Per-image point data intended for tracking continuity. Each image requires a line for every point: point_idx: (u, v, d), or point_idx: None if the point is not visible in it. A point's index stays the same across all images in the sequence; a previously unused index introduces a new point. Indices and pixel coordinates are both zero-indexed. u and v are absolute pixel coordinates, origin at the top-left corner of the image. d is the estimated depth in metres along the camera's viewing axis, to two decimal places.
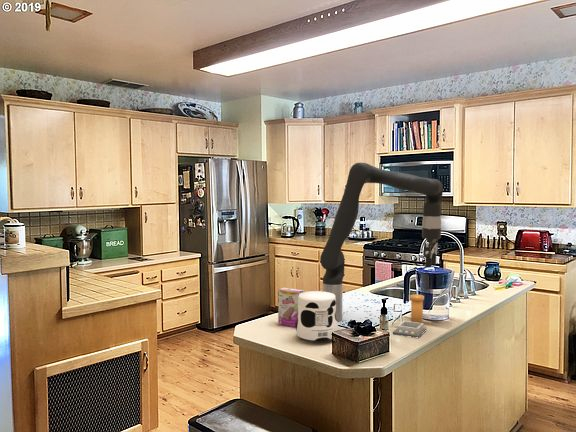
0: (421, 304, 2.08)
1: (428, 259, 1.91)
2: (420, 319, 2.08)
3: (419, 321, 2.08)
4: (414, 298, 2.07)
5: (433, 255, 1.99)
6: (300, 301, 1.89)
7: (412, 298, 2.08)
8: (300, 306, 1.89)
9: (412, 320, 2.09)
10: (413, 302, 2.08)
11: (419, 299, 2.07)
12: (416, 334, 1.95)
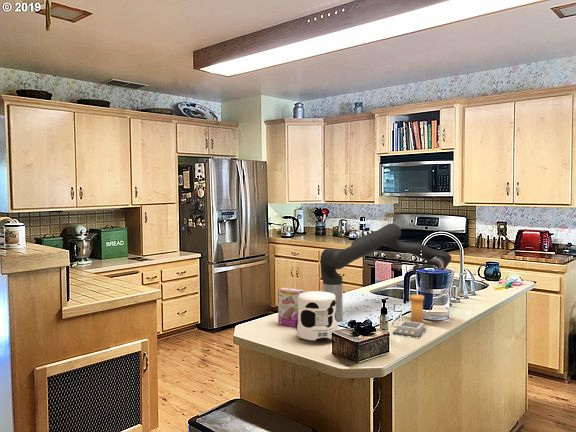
0: (421, 304, 2.08)
1: None
2: (420, 319, 2.08)
3: (419, 321, 2.08)
4: (414, 298, 2.07)
5: None
6: (300, 301, 1.89)
7: (412, 298, 2.08)
8: (300, 306, 1.89)
9: (412, 320, 2.09)
10: (413, 302, 2.08)
11: (419, 299, 2.07)
12: (416, 334, 1.95)
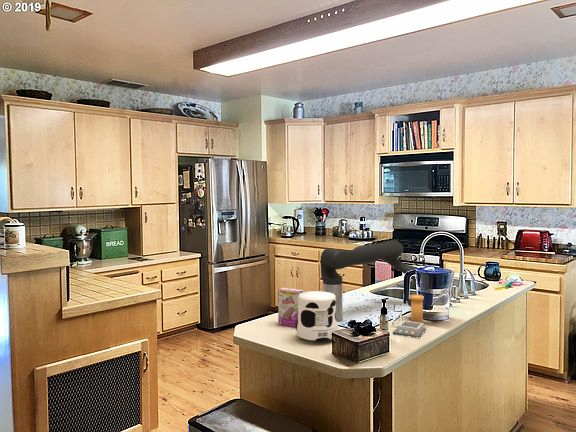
0: (421, 304, 2.08)
1: None
2: (420, 319, 2.08)
3: (419, 321, 2.08)
4: (414, 298, 2.07)
5: None
6: (300, 301, 1.89)
7: (412, 298, 2.08)
8: (300, 306, 1.89)
9: (412, 320, 2.09)
10: (413, 302, 2.08)
11: (419, 299, 2.07)
12: (416, 334, 1.95)
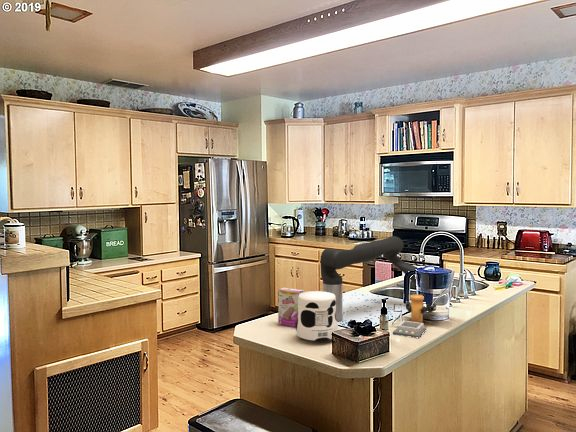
0: (421, 304, 2.08)
1: (425, 310, 2.09)
2: (420, 319, 2.08)
3: (419, 321, 2.08)
4: (414, 298, 2.07)
5: None
6: (300, 301, 1.89)
7: (412, 298, 2.08)
8: (300, 306, 1.89)
9: (412, 320, 2.09)
10: (413, 302, 2.08)
11: (419, 299, 2.07)
12: (416, 334, 1.95)
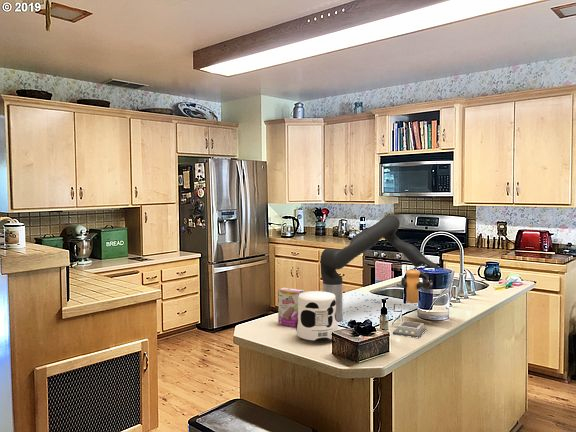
0: (417, 279, 2.01)
1: (421, 285, 2.02)
2: (416, 295, 2.01)
3: (415, 297, 2.01)
4: (410, 273, 2.00)
5: None
6: (300, 301, 1.89)
7: (407, 273, 2.01)
8: (300, 306, 1.89)
9: (407, 296, 2.02)
10: (409, 277, 2.01)
11: (415, 274, 2.00)
12: (416, 334, 1.95)
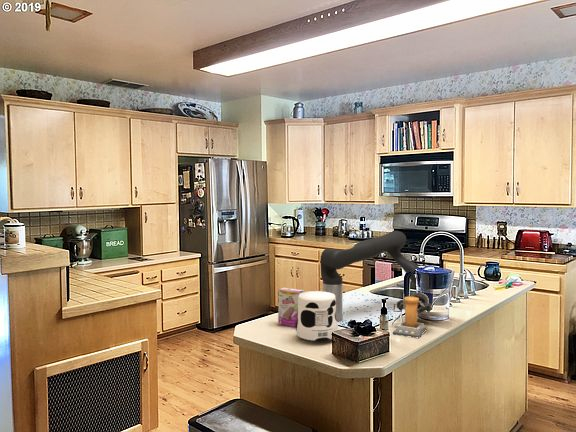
0: (416, 306, 2.00)
1: (424, 309, 2.00)
2: (414, 322, 2.00)
3: (413, 324, 2.00)
4: (408, 300, 1.99)
5: (402, 306, 2.05)
6: (300, 301, 1.89)
7: (406, 300, 2.00)
8: (300, 306, 1.89)
9: (406, 323, 2.01)
10: (407, 304, 2.00)
11: (413, 301, 1.98)
12: (416, 334, 1.95)
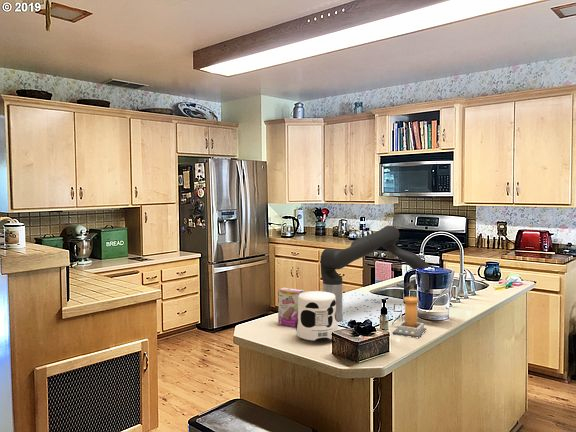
0: (415, 307, 2.00)
1: None
2: (414, 322, 2.00)
3: (413, 324, 2.00)
4: (408, 300, 1.99)
5: (409, 287, 2.18)
6: (300, 301, 1.89)
7: (406, 300, 2.00)
8: (300, 306, 1.89)
9: (406, 323, 2.01)
10: (407, 304, 2.00)
11: (413, 301, 1.98)
12: (416, 334, 1.95)
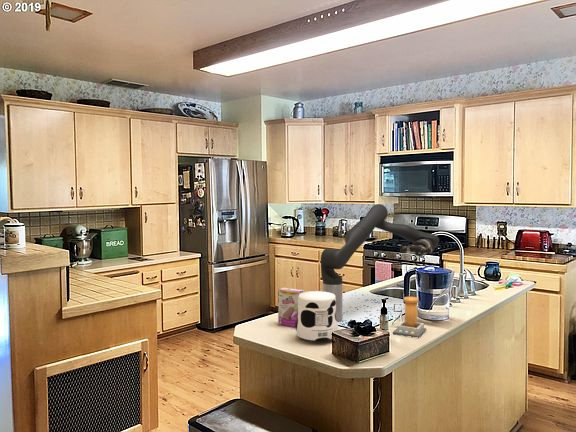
0: (415, 307, 2.00)
1: (425, 251, 2.18)
2: (414, 322, 2.00)
3: (413, 324, 2.00)
4: (408, 300, 1.99)
5: (405, 250, 2.23)
6: (300, 301, 1.89)
7: (406, 300, 2.00)
8: (300, 306, 1.89)
9: (406, 323, 2.01)
10: (407, 304, 2.00)
11: (413, 301, 1.98)
12: (416, 334, 1.95)
